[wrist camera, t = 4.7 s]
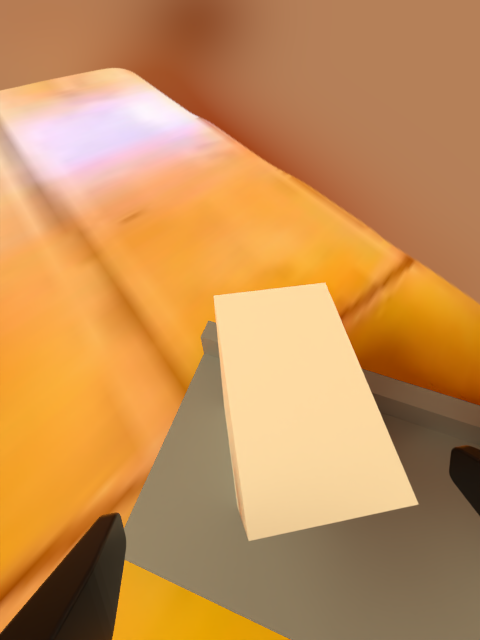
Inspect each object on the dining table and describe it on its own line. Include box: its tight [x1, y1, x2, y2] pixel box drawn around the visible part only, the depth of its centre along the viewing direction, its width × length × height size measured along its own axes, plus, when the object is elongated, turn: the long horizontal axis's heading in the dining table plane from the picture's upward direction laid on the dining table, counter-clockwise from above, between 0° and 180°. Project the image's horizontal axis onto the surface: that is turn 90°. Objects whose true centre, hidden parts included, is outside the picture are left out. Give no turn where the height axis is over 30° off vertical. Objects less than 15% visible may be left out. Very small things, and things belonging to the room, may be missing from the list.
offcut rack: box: [124, 321, 480, 640], centre depth 12 cm, size 12×30×6 cm, turn 71°
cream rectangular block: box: [214, 283, 418, 541], centre depth 11 cm, size 5×3×11 cm, turn 9°
